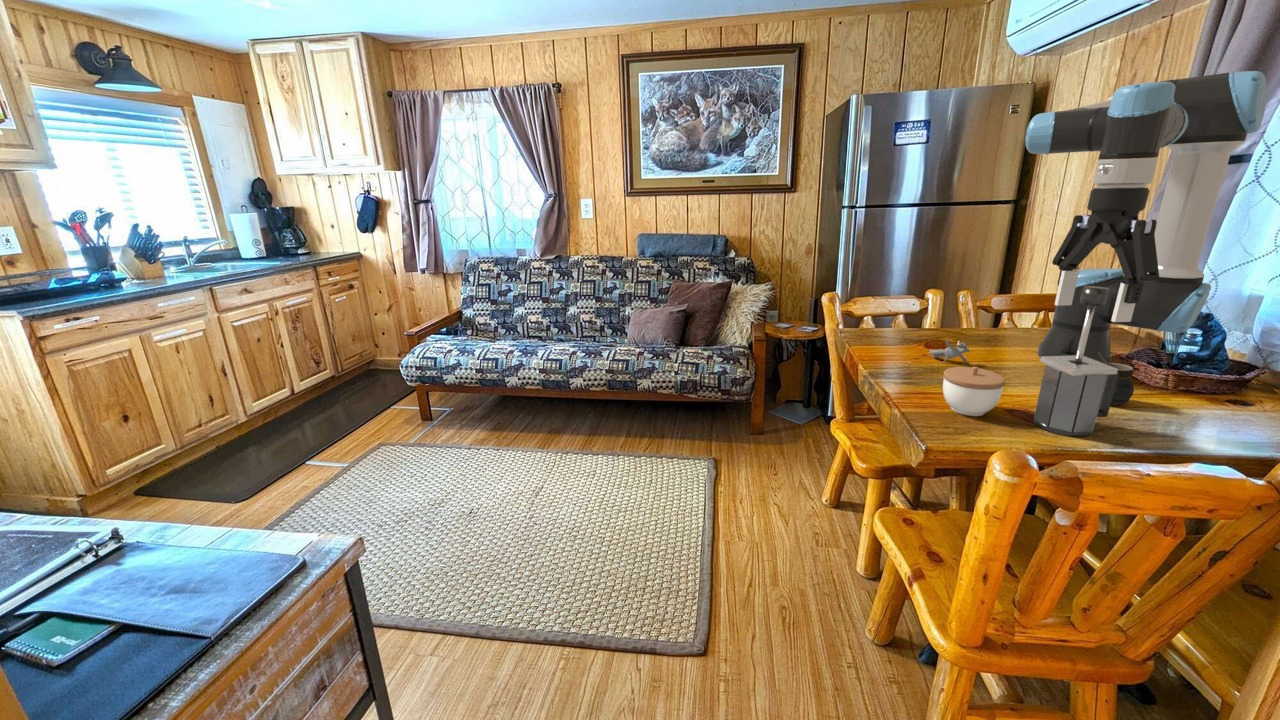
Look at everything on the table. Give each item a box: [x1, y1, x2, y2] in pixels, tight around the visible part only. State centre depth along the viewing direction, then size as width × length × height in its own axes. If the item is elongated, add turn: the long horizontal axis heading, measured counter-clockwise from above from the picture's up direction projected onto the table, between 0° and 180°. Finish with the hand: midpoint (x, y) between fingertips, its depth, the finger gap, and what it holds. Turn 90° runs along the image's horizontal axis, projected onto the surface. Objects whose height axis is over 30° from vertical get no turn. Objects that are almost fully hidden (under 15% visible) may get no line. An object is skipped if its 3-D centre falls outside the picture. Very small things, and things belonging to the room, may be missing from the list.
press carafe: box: [1033, 355, 1119, 438], centre depth 102 cm, size 12×9×13 cm
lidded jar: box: [942, 366, 1006, 417], centre depth 111 cm, size 11×11×9 cm
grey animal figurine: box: [929, 339, 971, 364], centre depth 141 cm, size 10×6×9 cm
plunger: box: [1074, 286, 1109, 365], centre depth 99 cm, size 6×6×18 cm
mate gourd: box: [1098, 352, 1135, 407], centre depth 114 cm, size 7×8×10 cm
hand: (1090, 312), depth 97 cm, fingers open, 12 cm apart
